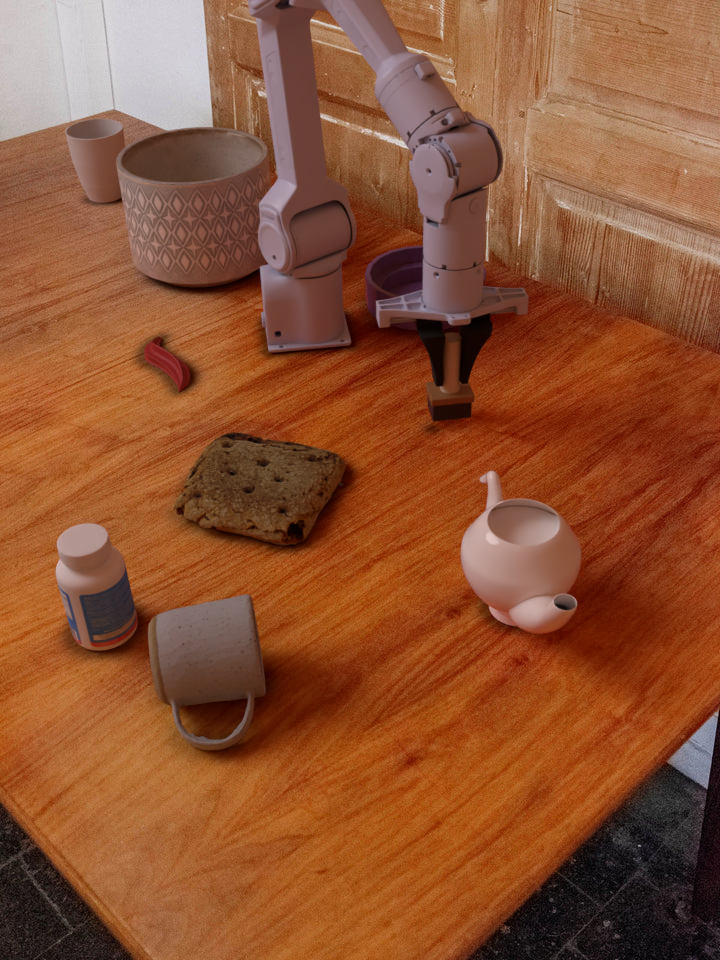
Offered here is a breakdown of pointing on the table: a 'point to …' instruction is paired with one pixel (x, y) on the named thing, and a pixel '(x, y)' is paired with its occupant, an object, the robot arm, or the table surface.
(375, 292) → the bowl
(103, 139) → the cup
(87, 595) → the pill bottle
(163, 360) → the cayenne pepper
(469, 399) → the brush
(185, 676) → the ceramic mug
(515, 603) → the teapot
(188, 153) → the planter
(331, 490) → the pastry
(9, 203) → the table surface
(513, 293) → the robot arm
